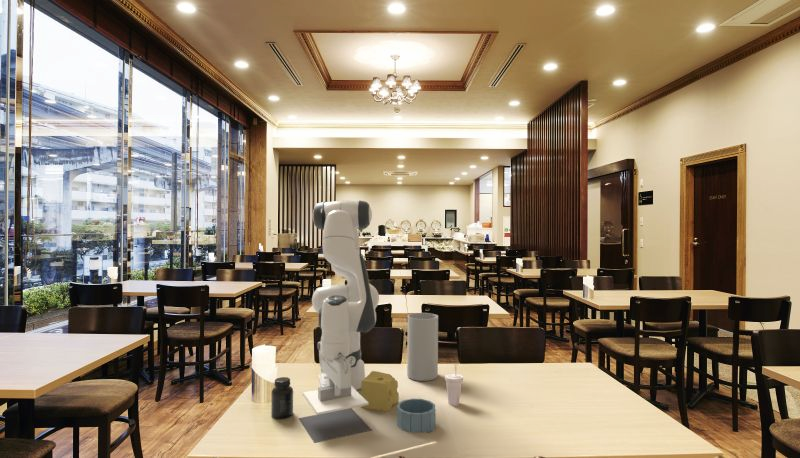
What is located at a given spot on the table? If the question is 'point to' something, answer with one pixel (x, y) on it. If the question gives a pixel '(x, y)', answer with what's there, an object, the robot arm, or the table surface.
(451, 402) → the smoothie
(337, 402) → the square lid
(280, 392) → the supplement bottle
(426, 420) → the bowl
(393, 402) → the cheese
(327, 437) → the mat
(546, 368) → the table surface
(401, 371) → the table surface
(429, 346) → the cylinder vase
